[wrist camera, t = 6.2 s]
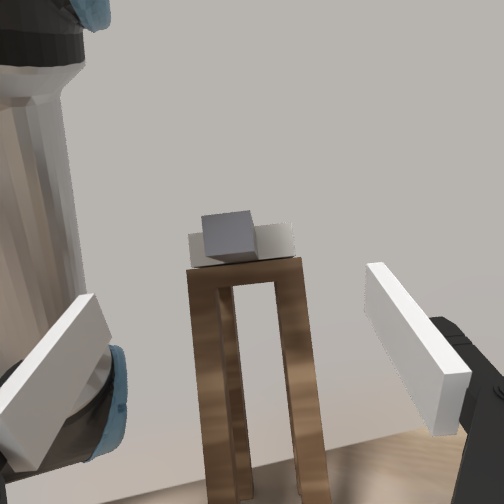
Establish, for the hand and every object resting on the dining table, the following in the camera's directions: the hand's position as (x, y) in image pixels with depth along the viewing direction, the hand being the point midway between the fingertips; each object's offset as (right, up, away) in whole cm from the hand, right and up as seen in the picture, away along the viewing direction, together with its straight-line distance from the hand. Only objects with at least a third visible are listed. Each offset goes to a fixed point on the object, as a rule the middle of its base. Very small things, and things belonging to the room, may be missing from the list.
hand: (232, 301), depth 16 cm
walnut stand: (+4, -29, +20) cm, 36 cm away
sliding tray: (0, +1, +17) cm, 17 cm away
